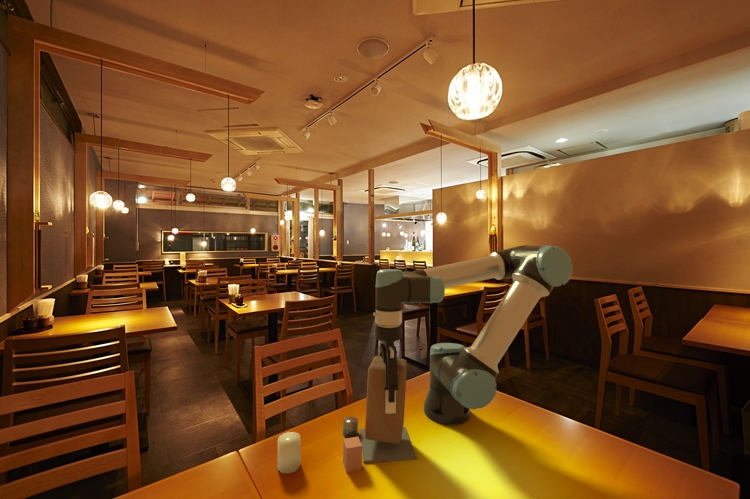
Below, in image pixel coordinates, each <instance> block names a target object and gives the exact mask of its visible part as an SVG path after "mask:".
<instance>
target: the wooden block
mask: <svg viewBox="0 0 750 499" xmlns="http://www.w3.org/2000/svg"><path fill="white" fill-rule="evenodd" d="M407 370H408V361H407V360H406V359H404V358H398V357H397V376H398V390H396V413H390V414H386V413H385V396H386V390H384V387H386V386H387V384H386V368H385V363H384V362H383V358H381V357H380V356H379V355H375V356H374V357H373V359H372V361H371V363H370V365H369V367H368V369H367V384H366V385H367V386H366V387H367V388H366V402H365V403H366V404H365V423H364V429H365V438H366V439H368V440H374V441H381V442H387V443H393V444H400V442H401V439H402V432H403V427H404V424H405V421H404V420H405V407H406V406H405V405H406V403H405V402H406V390H407V389H406V388H407V373H408V372H407Z"/></svg>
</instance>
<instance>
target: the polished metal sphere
mask: <svg viewBox="0 0 750 499" xmlns="http://www.w3.org/2000/svg"><path fill="white" fill-rule="evenodd" d="M358 427H359V419H358V417H355V416H346V417H344V418H343V420H342V436H343V437H344V438H345V439H346V438H352V437H358V434H359V429H358Z"/></svg>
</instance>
